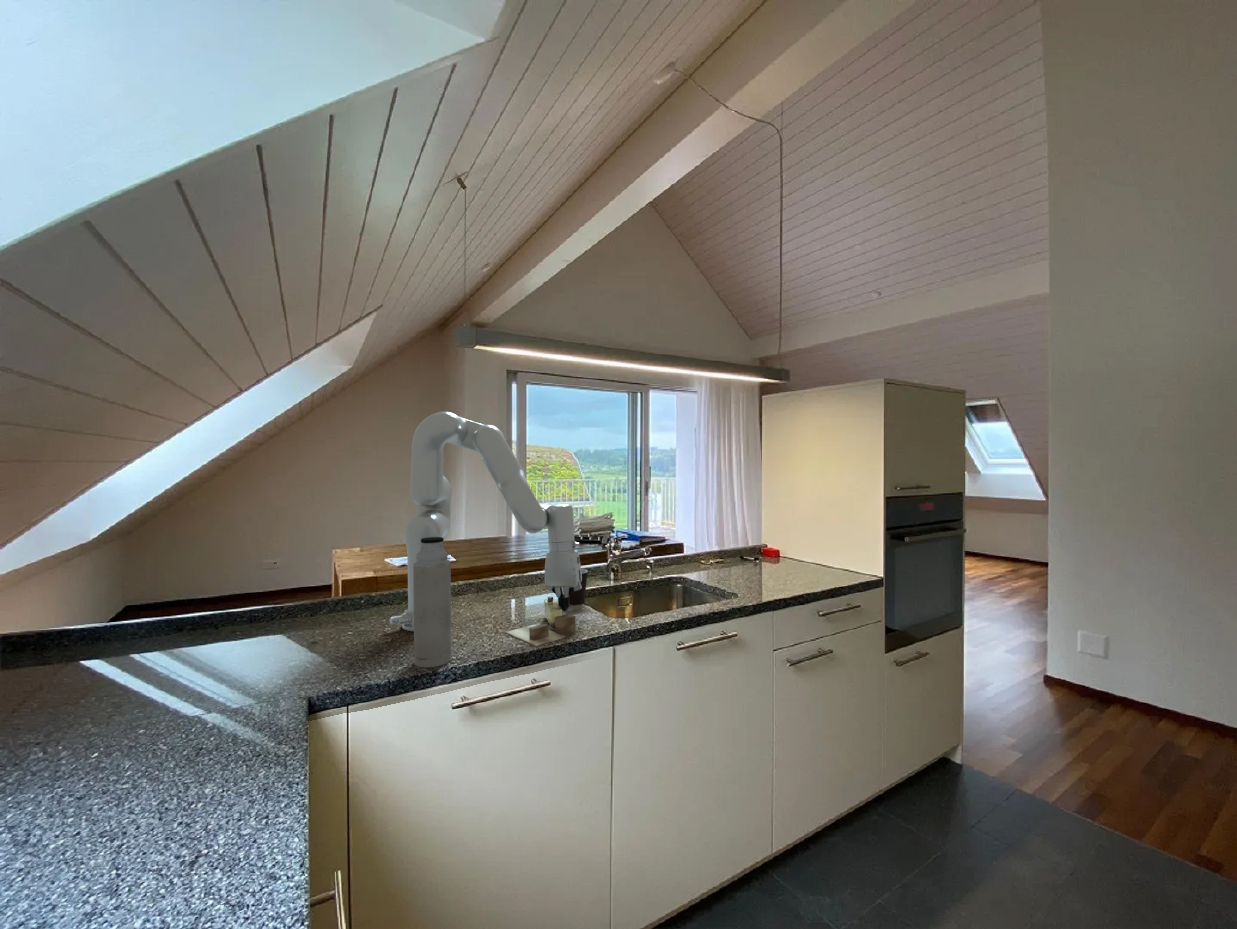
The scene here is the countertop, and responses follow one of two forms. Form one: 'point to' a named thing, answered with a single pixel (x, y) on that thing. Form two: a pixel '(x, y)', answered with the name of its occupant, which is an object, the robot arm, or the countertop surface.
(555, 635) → the beige square plate
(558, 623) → the block
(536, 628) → the block
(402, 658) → the countertop surface
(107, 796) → the countertop surface
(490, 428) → the robot arm
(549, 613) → the lock bar
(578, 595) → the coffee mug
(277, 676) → the countertop surface
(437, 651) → the thermos bottle
